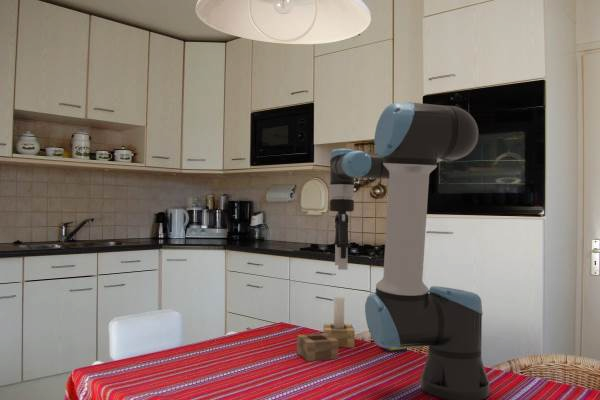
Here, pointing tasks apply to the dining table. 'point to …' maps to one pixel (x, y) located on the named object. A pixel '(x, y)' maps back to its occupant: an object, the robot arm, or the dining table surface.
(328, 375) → the dining table surface
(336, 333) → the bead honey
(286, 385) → the dining table surface
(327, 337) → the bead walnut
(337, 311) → the needle dowel
